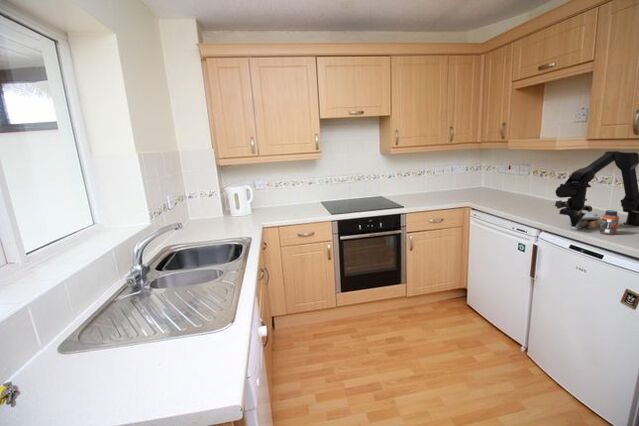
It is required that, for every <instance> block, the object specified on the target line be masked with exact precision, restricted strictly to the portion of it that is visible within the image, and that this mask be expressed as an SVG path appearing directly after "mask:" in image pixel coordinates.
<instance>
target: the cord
mask: <svg viewBox="0 0 639 426" xmlns="http://www.w3.org/2000/svg"><path fill="white" fill-rule="evenodd" d="M588 226H589V222H587V221H583V222H579V223H578V224H577V225H576V226H575V227H576V228H578V229H581V228H585V227H588Z"/></svg>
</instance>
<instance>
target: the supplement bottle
mask: <svg viewBox="0 0 639 426" xmlns="http://www.w3.org/2000/svg"><path fill="white" fill-rule="evenodd" d="M601 219H602V220H601V225H599V226H600V227H599V233H600V234H601V235H602V234H603V235H607V236H615V235H616V234H617V231H618V226H619V220H620V217H619V215H618V210H617V211H616V210H614V209H613V210H610V209H606V210H605V213H604V214H602V216H601Z"/></svg>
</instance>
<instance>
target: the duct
mask: <svg viewBox="0 0 639 426" xmlns="http://www.w3.org/2000/svg"><path fill="white" fill-rule="evenodd" d="M601 220H602V218H600V219H581V220H580V221H579V222H583V221H587V222H588V226H587V227H588V229H592V228H595V227H599V226H600V225H601ZM579 222H578V223H579Z"/></svg>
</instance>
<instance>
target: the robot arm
mask: <svg viewBox="0 0 639 426" xmlns="http://www.w3.org/2000/svg"><path fill="white" fill-rule="evenodd" d="M612 162H614V164H615V166H616V167H617V168H618V169H619V170H620V171H621V176H622V185H623V189H624V197H623V199H620V205H621V206H620V207H622V211H623V213H627V216H626V222H623V223H622V224H623V225H627V226H633V227H639V184H638V179H637V170H636V167H637V166H638V165H639V153H637V152H634V151H633V152H631V151H628V152H627V151H626V152H625V151H623V152H622V151H619V150H608V151H606V152H604V154H603V155H601V156H599V157H598V158H597V159H595V160H594V161H593V162H592V163H590V164H588V165H587V166H586V167H582V168H579V169H577V170H574V171H573V172H572V173H571V174H570V176H569V177H568V178H567V180H566V181H565V182H564V183H560V184H559V186H558V187H557V188H556V190H555V195H556V197H558V198H560V199H561V198H562V199H563V198H567V200H564V201H563V200H555V202H554V207H556V209H558V210H559V209H560V210H559V212H558V213H559V215H563V216H566V215H568V216H569V217H570V218H569V219H570V223H571V226H572V227H573V228H575V227H576V225H577V224H578V222H579V221H580V220H581V219H582V217H583V216H584V215H587V214H586V213H585V212H583V211H586V212H588V213H590V212H593V207H592V206H591V205H587V204H585V203H586V202H587V201H588V198H587V196H586V195H587V191H588V188H591V187H592V186H591V184H589V183H590V182H591V181H592V180H594V178H595V176H596V174H597V173H598V172H601V170H603V169H604V168H606V167H607V166H608V165H610V164H611V163H612Z"/></svg>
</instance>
